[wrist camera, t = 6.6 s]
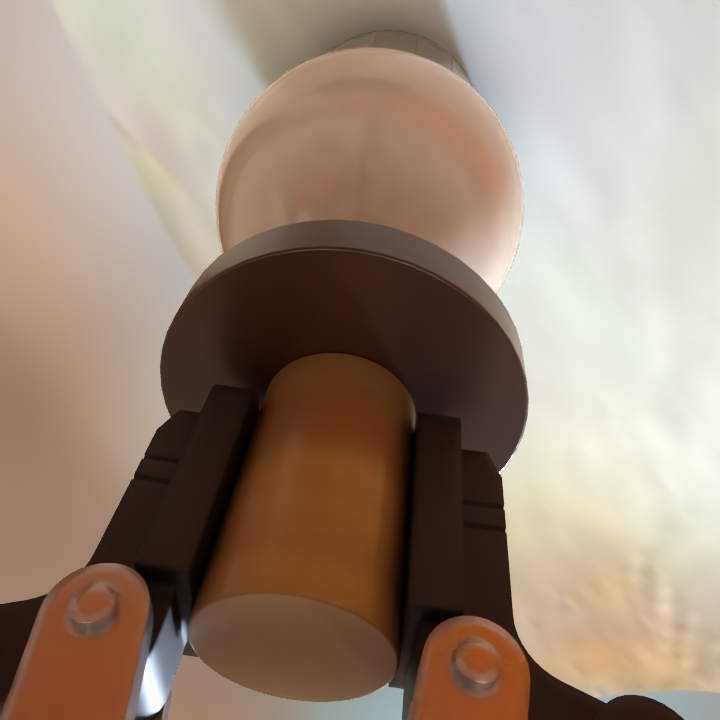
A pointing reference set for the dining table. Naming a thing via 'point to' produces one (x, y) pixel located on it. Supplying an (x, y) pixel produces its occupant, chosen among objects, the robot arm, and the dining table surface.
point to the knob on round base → (332, 438)
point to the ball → (376, 157)
